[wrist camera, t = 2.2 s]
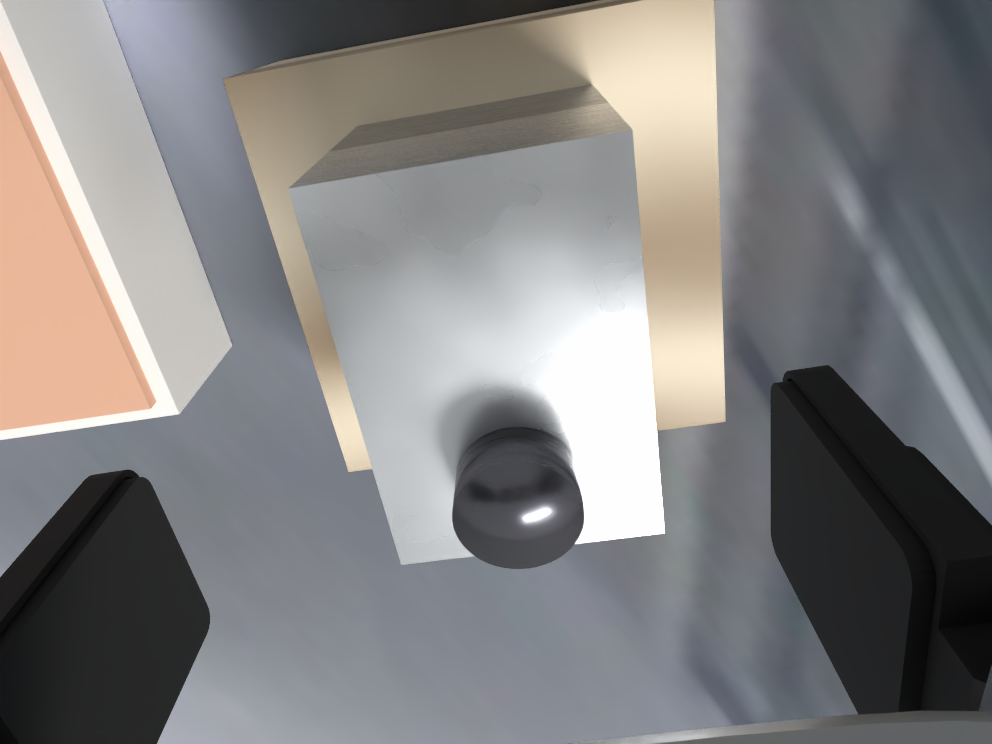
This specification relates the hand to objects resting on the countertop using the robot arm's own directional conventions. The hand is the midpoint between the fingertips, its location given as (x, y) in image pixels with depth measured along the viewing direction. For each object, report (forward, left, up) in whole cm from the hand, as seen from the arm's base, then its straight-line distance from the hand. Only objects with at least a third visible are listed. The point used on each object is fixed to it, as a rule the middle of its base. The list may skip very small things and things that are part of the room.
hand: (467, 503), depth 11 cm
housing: (0, +1, -9) cm, 9 cm away
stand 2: (0, +1, -14) cm, 14 cm away
